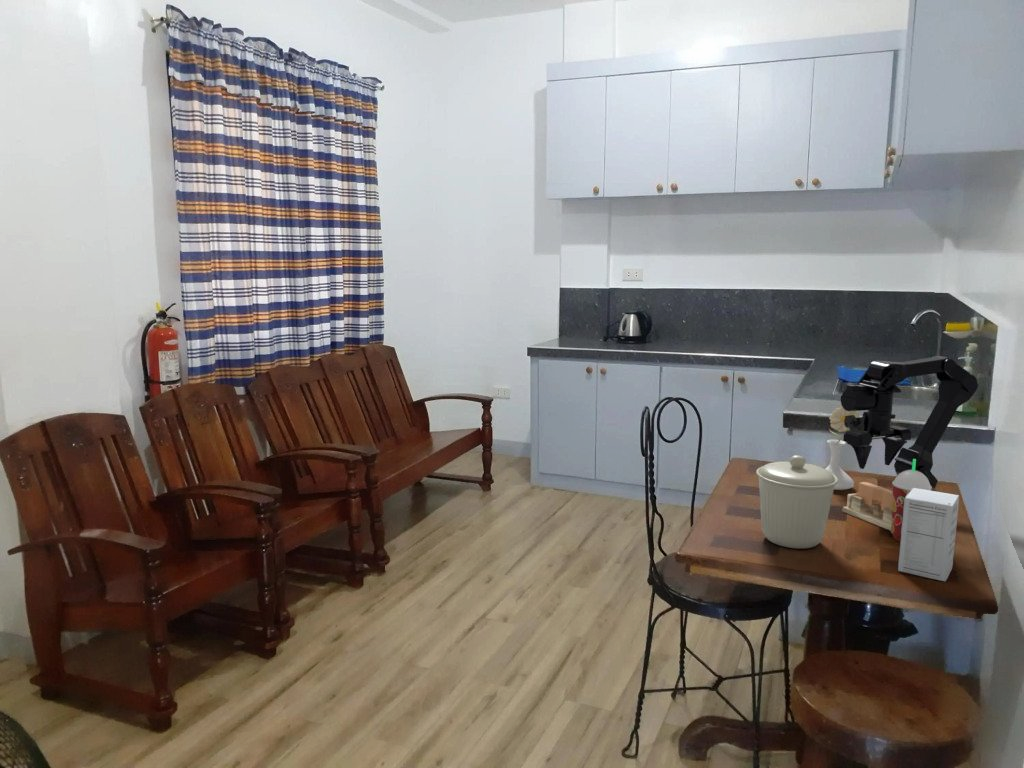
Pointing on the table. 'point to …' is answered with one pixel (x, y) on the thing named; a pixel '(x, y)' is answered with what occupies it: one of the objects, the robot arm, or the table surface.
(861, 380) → the robot arm
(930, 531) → the supplement box
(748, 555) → the table surface
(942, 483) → the table surface
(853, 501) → the display stand
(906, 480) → the smoothie
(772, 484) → the canister
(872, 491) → the tapered tan board
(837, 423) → the flower in vase
